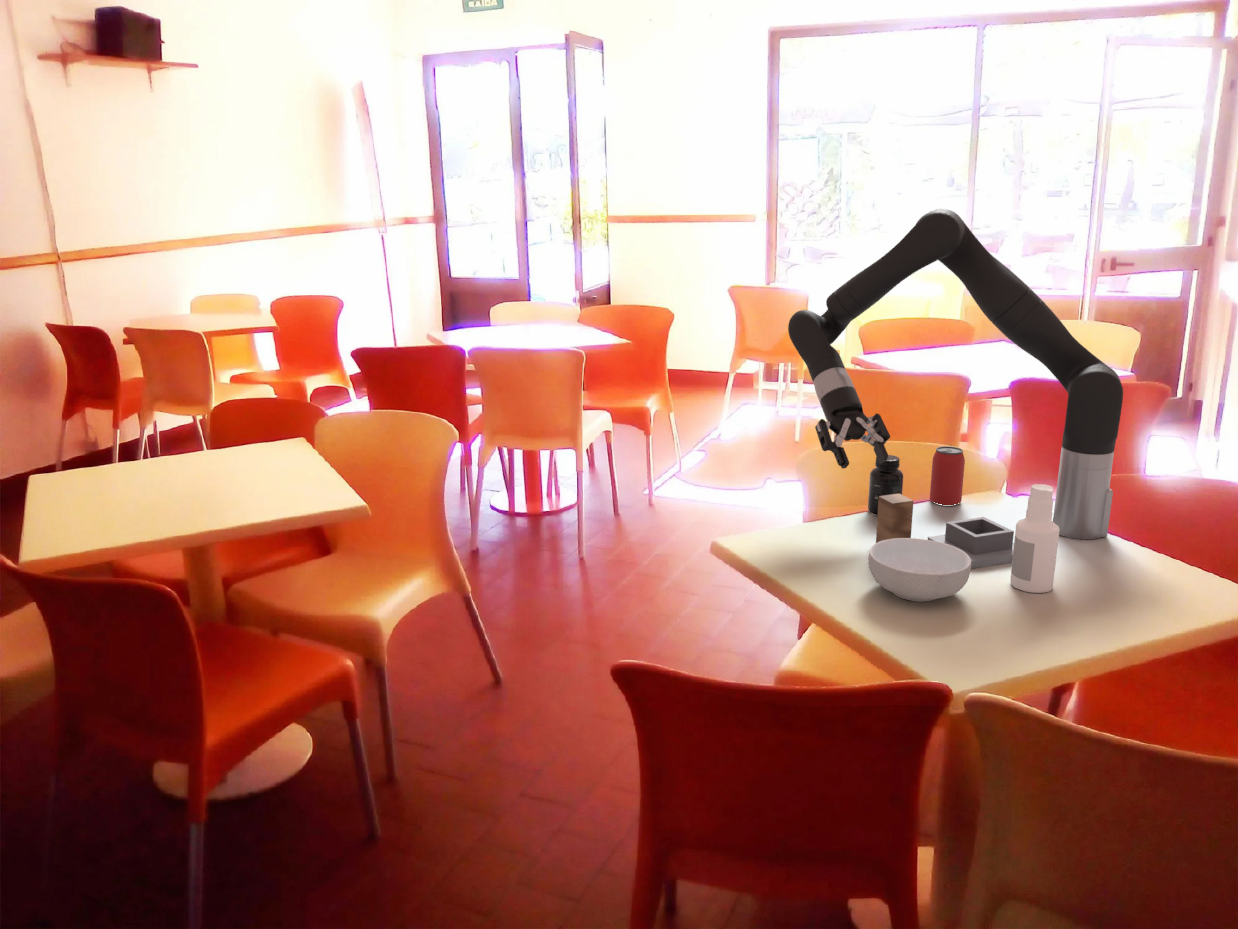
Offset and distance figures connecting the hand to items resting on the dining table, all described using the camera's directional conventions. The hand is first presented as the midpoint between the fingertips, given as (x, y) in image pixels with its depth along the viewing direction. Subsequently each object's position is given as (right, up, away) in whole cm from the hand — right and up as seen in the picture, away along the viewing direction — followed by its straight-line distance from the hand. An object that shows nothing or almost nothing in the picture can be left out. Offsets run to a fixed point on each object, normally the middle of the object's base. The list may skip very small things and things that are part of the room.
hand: (865, 464), depth 187 cm
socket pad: (+20, -17, -6) cm, 26 cm away
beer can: (+23, -9, +22) cm, 33 cm away
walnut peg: (+4, -17, -6) cm, 18 cm away
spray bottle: (+23, -21, -21) cm, 38 cm away
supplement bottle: (+8, -10, +17) cm, 22 cm away
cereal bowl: (+3, -22, -23) cm, 32 cm away
